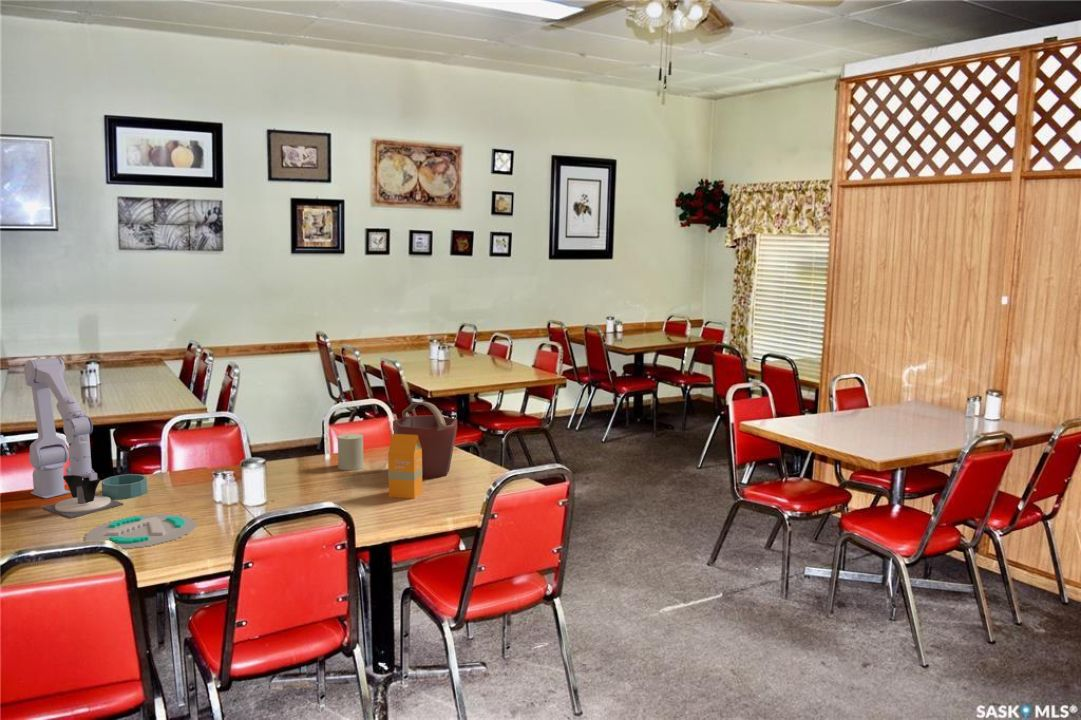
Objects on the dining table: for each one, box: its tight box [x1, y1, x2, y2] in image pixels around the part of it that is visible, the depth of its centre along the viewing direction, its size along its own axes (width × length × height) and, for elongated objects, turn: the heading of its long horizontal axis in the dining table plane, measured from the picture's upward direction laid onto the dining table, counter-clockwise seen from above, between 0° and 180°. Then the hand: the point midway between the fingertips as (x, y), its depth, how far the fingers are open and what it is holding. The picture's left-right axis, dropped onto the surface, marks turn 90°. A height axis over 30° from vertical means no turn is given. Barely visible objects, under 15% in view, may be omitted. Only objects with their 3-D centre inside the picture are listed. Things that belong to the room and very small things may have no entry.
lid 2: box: [83, 513, 198, 550], centre depth 241 cm, size 28×28×2 cm
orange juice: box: [387, 433, 423, 500], centre depth 276 cm, size 8×9×20 cm
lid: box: [55, 486, 112, 513], centre depth 261 cm, size 15×15×6 cm
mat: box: [42, 493, 124, 519], centre depth 262 cm, size 16×16×1 cm
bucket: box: [392, 401, 458, 480], centre depth 302 cm, size 24×22×25 cm
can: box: [337, 432, 365, 472], centre depth 309 cm, size 9×9×12 cm
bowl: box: [101, 473, 148, 500], centre depth 276 cm, size 13×13×4 cm
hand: (83, 499), depth 262 cm, fingers open, 7 cm apart
